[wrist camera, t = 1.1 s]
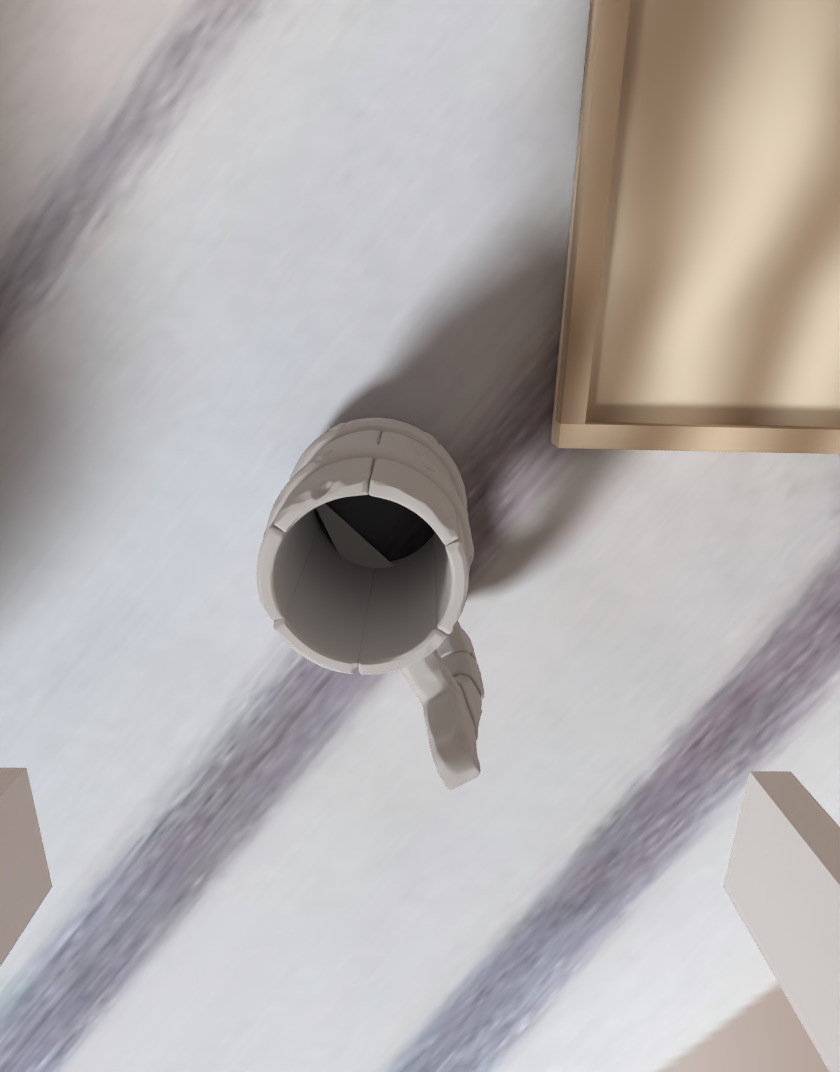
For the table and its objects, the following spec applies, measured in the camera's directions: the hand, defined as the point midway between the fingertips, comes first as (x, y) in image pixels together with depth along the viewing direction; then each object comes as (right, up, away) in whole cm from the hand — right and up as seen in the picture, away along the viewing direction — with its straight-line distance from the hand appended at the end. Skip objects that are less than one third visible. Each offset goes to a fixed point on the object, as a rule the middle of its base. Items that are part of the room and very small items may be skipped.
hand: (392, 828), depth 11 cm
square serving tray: (+16, +18, +13) cm, 27 cm away
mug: (0, +5, +17) cm, 18 cm away
